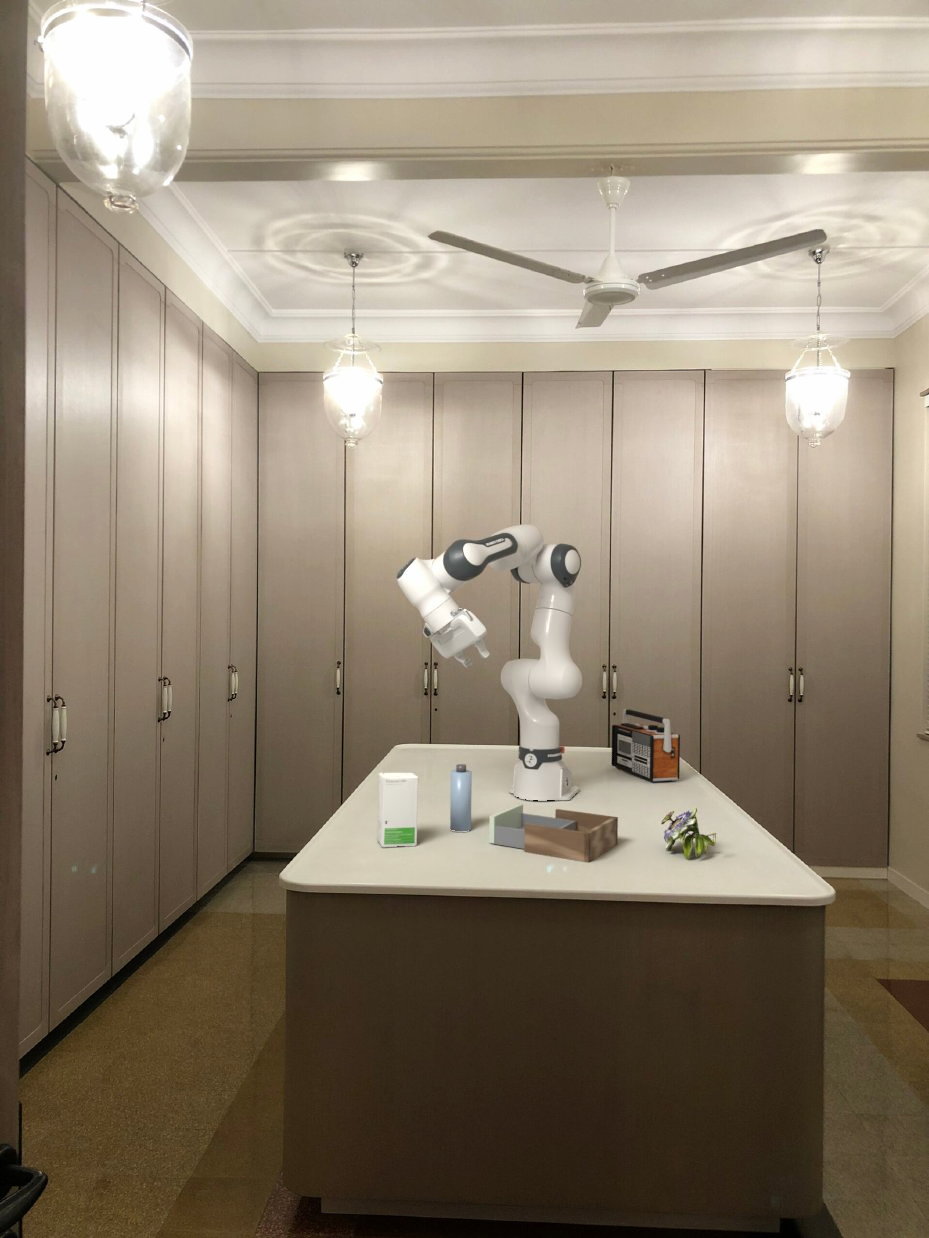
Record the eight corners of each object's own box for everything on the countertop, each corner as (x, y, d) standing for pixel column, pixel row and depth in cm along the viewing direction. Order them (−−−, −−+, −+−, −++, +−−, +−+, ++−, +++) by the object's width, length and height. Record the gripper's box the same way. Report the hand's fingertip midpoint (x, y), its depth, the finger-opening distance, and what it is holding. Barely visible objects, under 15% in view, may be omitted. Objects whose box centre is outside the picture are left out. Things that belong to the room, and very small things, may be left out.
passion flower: (669, 875, 190) (656, 823, 197) (718, 867, 189) (703, 816, 196) (671, 858, 181) (657, 805, 187) (723, 850, 180) (707, 797, 187)
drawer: (518, 829, 206) (518, 803, 206) (576, 838, 199) (576, 811, 199) (489, 843, 194) (489, 816, 194) (549, 853, 186) (550, 824, 186)
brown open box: (556, 834, 203) (557, 808, 203) (617, 843, 195) (617, 817, 195) (524, 851, 188) (524, 824, 188) (588, 862, 180) (588, 833, 180)
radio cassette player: (609, 767, 291) (610, 708, 291) (637, 766, 294) (637, 708, 294) (652, 784, 263) (653, 719, 263) (682, 783, 266) (683, 718, 266)
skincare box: (381, 848, 189) (382, 778, 189) (376, 840, 196) (377, 772, 196) (418, 846, 192) (419, 776, 191) (412, 838, 198) (413, 771, 198)
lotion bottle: (457, 826, 210) (457, 762, 209) (474, 829, 207) (475, 764, 207) (446, 830, 205) (446, 765, 205) (464, 833, 203) (465, 767, 203)
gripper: (470, 597, 205) (505, 643, 205) (437, 621, 222) (469, 663, 223) (452, 612, 202) (488, 658, 202) (420, 634, 219) (452, 677, 220)
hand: (478, 661), depth 213 cm, fingers open, 8 cm apart
